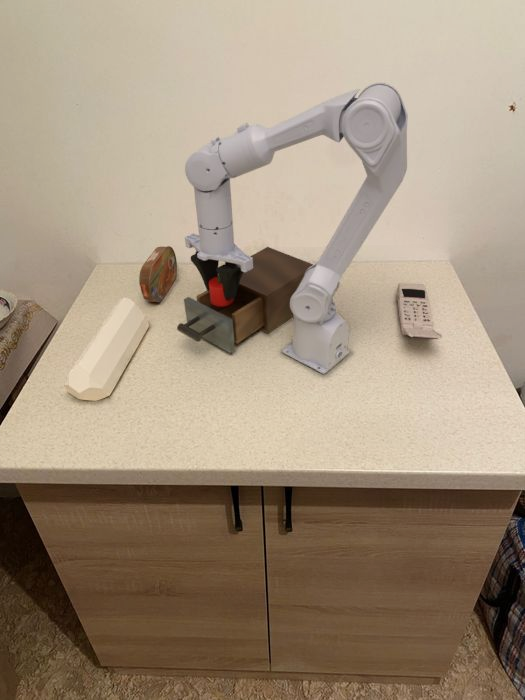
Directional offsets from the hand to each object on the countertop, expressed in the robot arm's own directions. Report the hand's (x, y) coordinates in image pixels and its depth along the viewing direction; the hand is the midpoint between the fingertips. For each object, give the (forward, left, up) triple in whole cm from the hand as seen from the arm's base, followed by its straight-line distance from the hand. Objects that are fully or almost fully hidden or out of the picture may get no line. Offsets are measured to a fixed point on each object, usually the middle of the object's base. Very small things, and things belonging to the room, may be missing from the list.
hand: (221, 293), depth 90 cm
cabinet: (0, -13, -9) cm, 15 cm away
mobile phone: (-26, -26, -9) cm, 38 cm away
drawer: (0, 0, -8) cm, 8 cm away
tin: (+22, -3, -9) cm, 24 cm away
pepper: (0, 0, -1) cm, 1 cm away
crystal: (+10, +19, -9) cm, 23 cm away
